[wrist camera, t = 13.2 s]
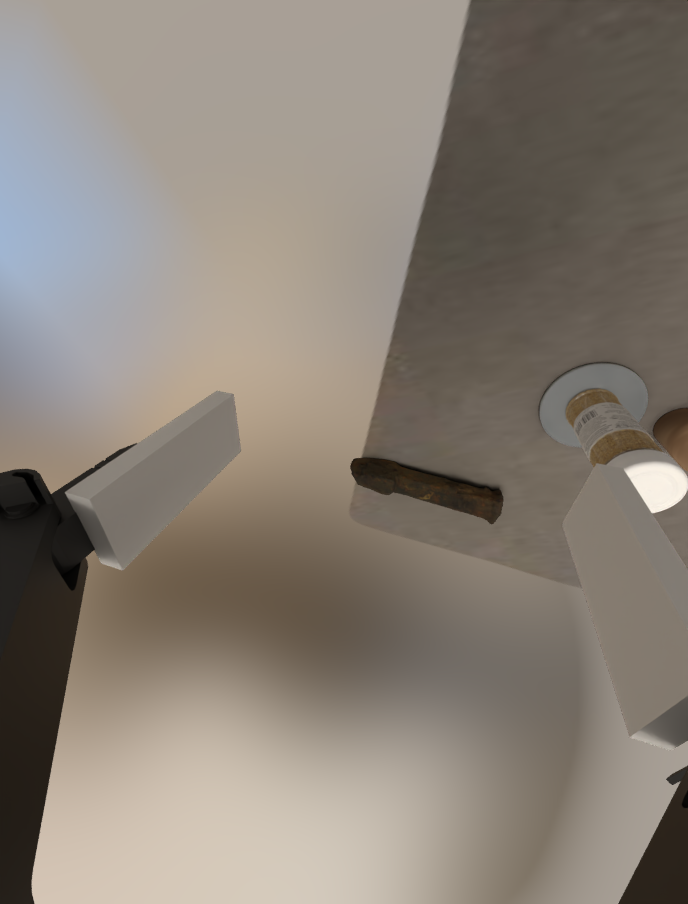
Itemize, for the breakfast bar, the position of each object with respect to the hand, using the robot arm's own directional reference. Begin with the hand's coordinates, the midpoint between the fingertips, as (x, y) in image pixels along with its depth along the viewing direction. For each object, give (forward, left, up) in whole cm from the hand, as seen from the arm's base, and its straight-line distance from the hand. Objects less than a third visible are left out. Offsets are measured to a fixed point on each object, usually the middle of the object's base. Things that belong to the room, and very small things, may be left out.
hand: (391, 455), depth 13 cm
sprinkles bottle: (+1, +18, -26) cm, 32 cm away
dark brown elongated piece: (+19, +9, -27) cm, 34 cm away
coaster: (+1, +18, -27) cm, 32 cm away
